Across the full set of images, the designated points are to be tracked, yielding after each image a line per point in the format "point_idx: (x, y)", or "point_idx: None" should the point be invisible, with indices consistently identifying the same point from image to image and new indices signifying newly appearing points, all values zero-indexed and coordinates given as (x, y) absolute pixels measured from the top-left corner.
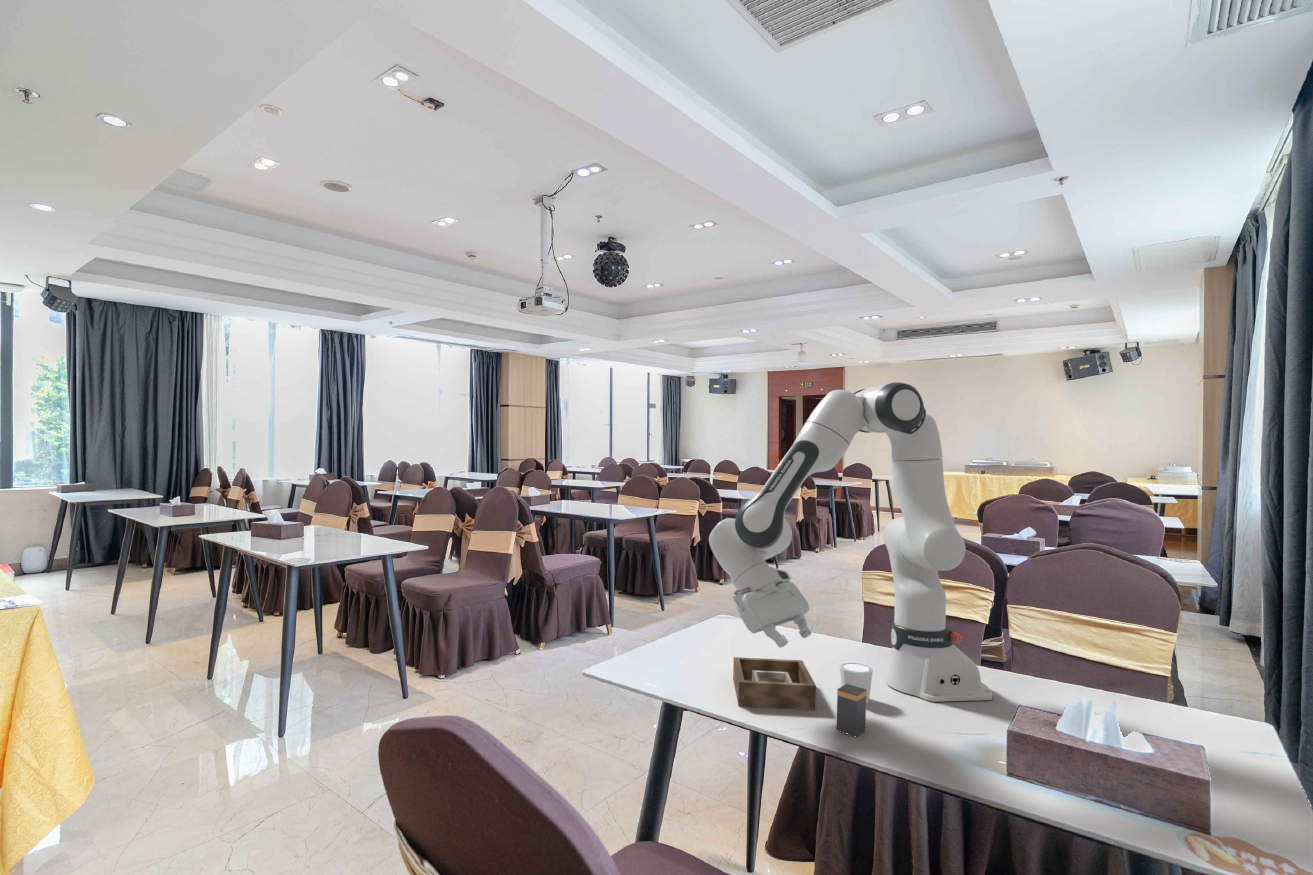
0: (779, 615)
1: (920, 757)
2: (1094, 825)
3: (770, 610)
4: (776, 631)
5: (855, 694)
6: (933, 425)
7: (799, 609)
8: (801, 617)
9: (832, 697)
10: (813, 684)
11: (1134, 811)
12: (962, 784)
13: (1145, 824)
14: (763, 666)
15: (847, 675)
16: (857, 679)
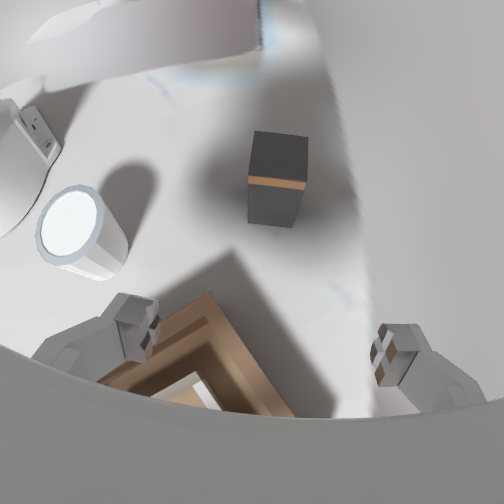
0: (403, 435)
1: (289, 107)
2: (305, 20)
3: (478, 480)
4: (449, 370)
5: (307, 140)
6: None
7: (33, 377)
8: (68, 358)
9: None
10: (203, 302)
11: (257, 7)
12: (322, 73)
13: (274, 6)
14: None
15: (104, 236)
16: (108, 213)
